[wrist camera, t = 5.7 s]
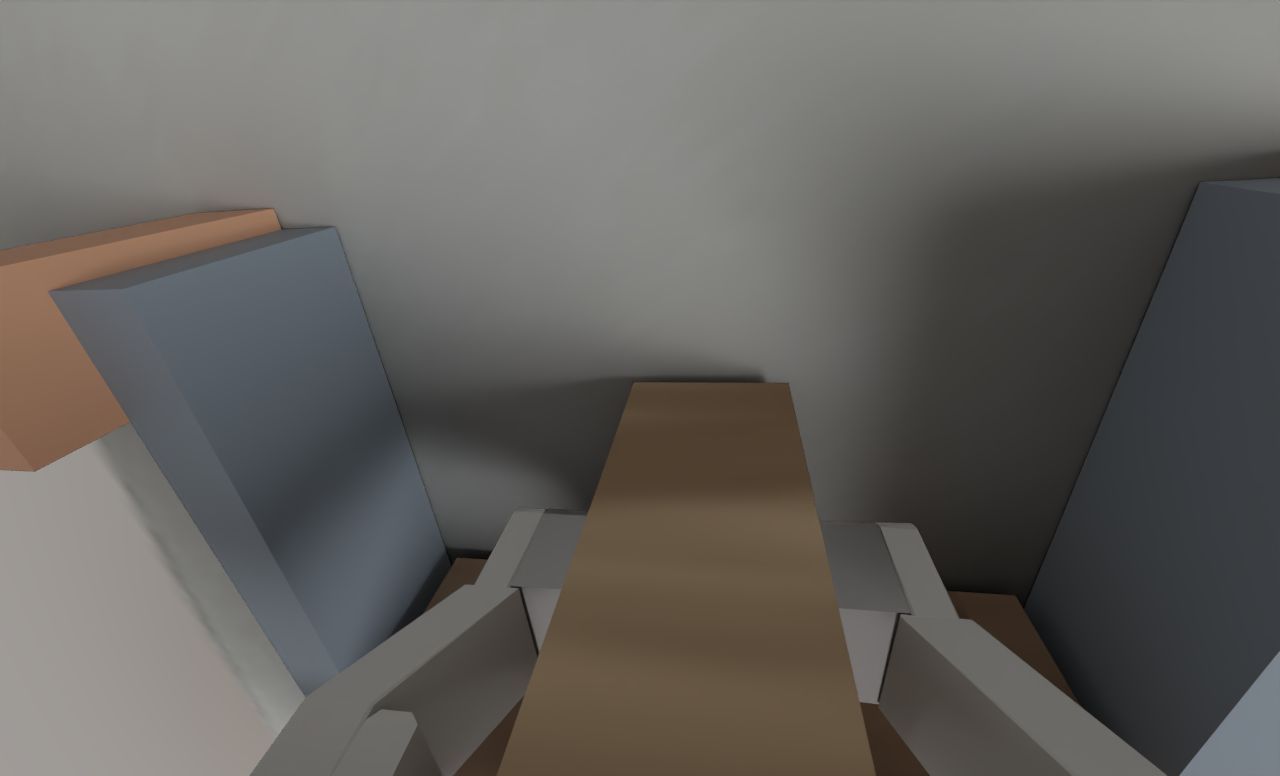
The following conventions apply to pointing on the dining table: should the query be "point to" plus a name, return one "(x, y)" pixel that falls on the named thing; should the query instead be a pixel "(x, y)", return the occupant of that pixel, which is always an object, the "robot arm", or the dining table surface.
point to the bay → (411, 541)
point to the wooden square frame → (707, 612)
